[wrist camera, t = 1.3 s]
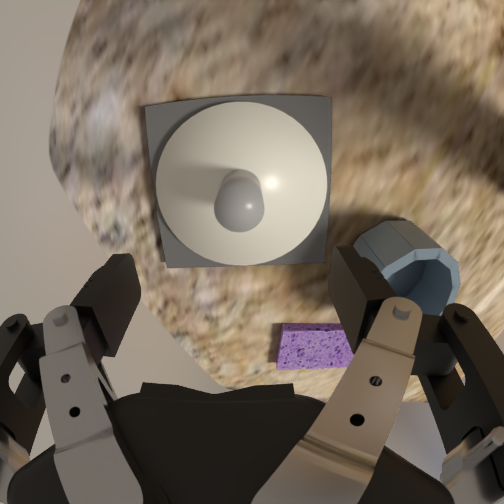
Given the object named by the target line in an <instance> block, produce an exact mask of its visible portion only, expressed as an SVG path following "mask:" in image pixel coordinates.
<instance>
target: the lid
mask: <svg viewBox="0 0 504 504" xmlns="http://www.w3.org/2000/svg"><path fill="white" fill-rule="evenodd" d="M156 193H157V199H158V204H159V207H160V210H161V213H162V215H163V217H164V219H165V221H166V223H167V225H168V226H169V228H170V229H171V231H172V232H173V233H174V235H175V236H176V237H177V238H178V239H179V240H180V241H181V242H182V243H183V244H184V245H185V246H187V247H188V248H189V249H191V250H192V251H194V252H195V253H197V254H199V255H201V256H202V257H204V258H207V259H209V260H212V261H215V262H219V263H223V264H228V265H242V266H246V265H256V264H260V263H265V262H268V261H271V260H274V259H276V258H278V257H281V256H283V255H285V254H286V253H288V252H289V251H291V250H293V249H294V248H295V247H296V246H298V245H299V244H300V243H301V242H302V241H303V240H304V239H305V238H306V237H307V236H308V235H309V233H310V232H311V231H312V229H313V228H314V227H315V225H316V223H317V221H318V220H319V218H320V215H321V213H322V210H323V207H324V204H325V200H326V193H327V174H326V168H325V164H324V160H323V157H322V154H321V152H320V150H319V148H318V146H317V144H316V143H315V141H314V139H313V138H312V136H311V135H310V134H309V133H308V132H307V130H306V129H305V128H304V127H303V126H302V125H301V124H300V123H298V122H297V121H296V120H295V119H294V118H292V117H291V116H289V115H287V114H286V113H284V112H282V111H280V110H278V109H276V108H274V107H271V106H267V105H264V104H260V103H254V102H229V103H223V104H219V105H216V106H212V107H210V108H207V109H205V110H203V111H201V112H199V113H197V114H196V115H194V116H192V117H191V118H190V119H188V120H187V121H186V122H185V123H183V124H182V125H181V126H180V127H179V128H178V129H177V130H176V131H175V133H174V134H173V135H172V137H171V138H170V139H169V141H168V142H167V144H166V146H165V148H164V150H163V152H162V155H161V157H160V160H159V164H158V168H157V173H156Z"/></svg>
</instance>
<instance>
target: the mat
mask: <svg viewBox="0 0 504 504" xmlns="http://www.w3.org/2000/svg"><path fill="white" fill-rule="evenodd" d="M229 102H254V103H260V104H264V105H267V106H271V107H274V108H276V109H278V110H280V111H282V112H284V113H286V114H287V115H289V116H291V117H292V118H294V119H295V120H296V121H297V122H298V123H300V124H301V125H302V126H303V127H304V128H305V129H306V130H307V132H308V133H309V134H310V135H311V136H312V138H313V139H314V141H315V143H316V144H317V146H318V148H319V150H320V152H321V154H322V157H323V160H324V164H325V168H326V174H327V193H326V200H325V204H324V207H323V210H322V213H321V215H320V218H319V220H318V221H317V223H316V225H315V227H314V228H313V229H312V231H311V232H310V233H309V235H308V236H307V237H306V238H305V239H304V240H303V241H302V242H301V243H300V244H299V245H298V246H296V247H295V248H294V249H293V250H291V251H289V252H288V253H286V254H285V255H283V256H281V257H278V258H276V259H274V260H271V261H268V262H265V263H260V264H256V265H281V264H305V263H325V254H326V243H327V231H328V217H329V202H330V183H331V156H332V97H321V96H300V95H250V96H230V97H216V98H204V99H195V100H186V101H178V102H171V103H164V104H158V105H152V106H146V107H145V115H146V128H147V139H148V149H149V158H150V166H151V174H152V182H153V189H154V196H155V203H156V210H157V216H158V222H159V228H160V234H161V239H162V245H163V250H164V255H165V260H166V265H167V268H195V267H227V266H242V265H228V264H223V263H219V262H215V261H212V260H209V259H207V258H204V257H202V256H201V255H199V254H197V253H195V252H194V251H192V250H191V249H189V248H188V247H187V246H185V245H184V244H183V243H182V242H181V241H180V240H179V239H178V238H177V237H176V236H175V235H174V233H173V232H172V231H171V229H170V228H169V226H168V225H167V223H166V221H165V219H164V217H163V215H162V213H161V210H160V207H159V204H158V199H157V193H156V173H157V168H158V164H159V160H160V157H161V155H162V152H163V150H164V148H165V146H166V144H167V142H168V141H169V139H170V138H171V137H172V135H173V134H174V133H175V131H176V130H177V129H178V128H179V127H180V126H181V125H182V124H183V123H185V122H186V121H187V120H188V119H190V118H191V117H192V116H194V115H196V114H197V113H199V112H201V111H203V110H205V109H207V108H210V107H212V106H216V105H219V104H223V103H229ZM246 266H255V265H246Z"/></svg>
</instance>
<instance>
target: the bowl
mask: <svg viewBox="0 0 504 504" xmlns="http://www.w3.org/2000/svg"><path fill="white" fill-rule="evenodd" d="M353 247H354V248H355V249H356V251H357V252H358V254H359V255H360V256H361V257H366V258H367V259H369V260H370V261H372V262H373V263H375V265H376V266H377V267H378V269H379V270H380V272H381V273H382V274H383V276H384V278H385V279H386V280H387V281H388V283H389V284H390V285H391V287H392V288H393V290H394V291H395V293H396V294H397V296H398V297H403V298H407V299H409V300H411V301H413V302H415V303H416V304H417V305H418V306H419V307H420V309H421V311H422V314H429V315H439V316H441V315H442V313H443V310H444V308H445V306H447V305H448V304H452V303H454V301H455V298H456V295H457V293H458V290H459V287H460V274H459V266H458V262H457V261H456V260H455V259H454V258H453V257H452V256H451V255H450V254H449V253H448V252H447V251H446V250H444V249H443V248H442V247H441V246H440V245H439V244H438V243H437V242H435V241H434V240H433V239H432V238H431V237H430V236H428V235H427V234H426V233H425V232H424V231H422V230H421V229H420V228H419V227H417V226H416V225H415V224H414V223H412V222H411V221H384V222H382V223H381V224H379V225H377V226H375V227H374V228H372V229H370V230H368V231H367V232H365V233H363V234H361V235H360V236H359V237H358V239H357V240H356V242H355V243H354V245H353Z"/></svg>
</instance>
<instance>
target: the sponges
mask: <svg viewBox="0 0 504 504" xmlns="http://www.w3.org/2000/svg"><path fill="white" fill-rule="evenodd" d="M354 355H355V354H353V353H352V351H351V348H350V345H349V343H348V340H347V337H346V335H345V332H344V330H343V327H342V324H308V323H283V324H282V329H281V336H280V342H279V348H278V355H277V361H276V364H277V370H287V369H290V370H292V369H301V368H306V369H318V368H322V369H323V368H340V367H348V366H349V364H350V362H351V360H352V359H353V357H354Z"/></svg>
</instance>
